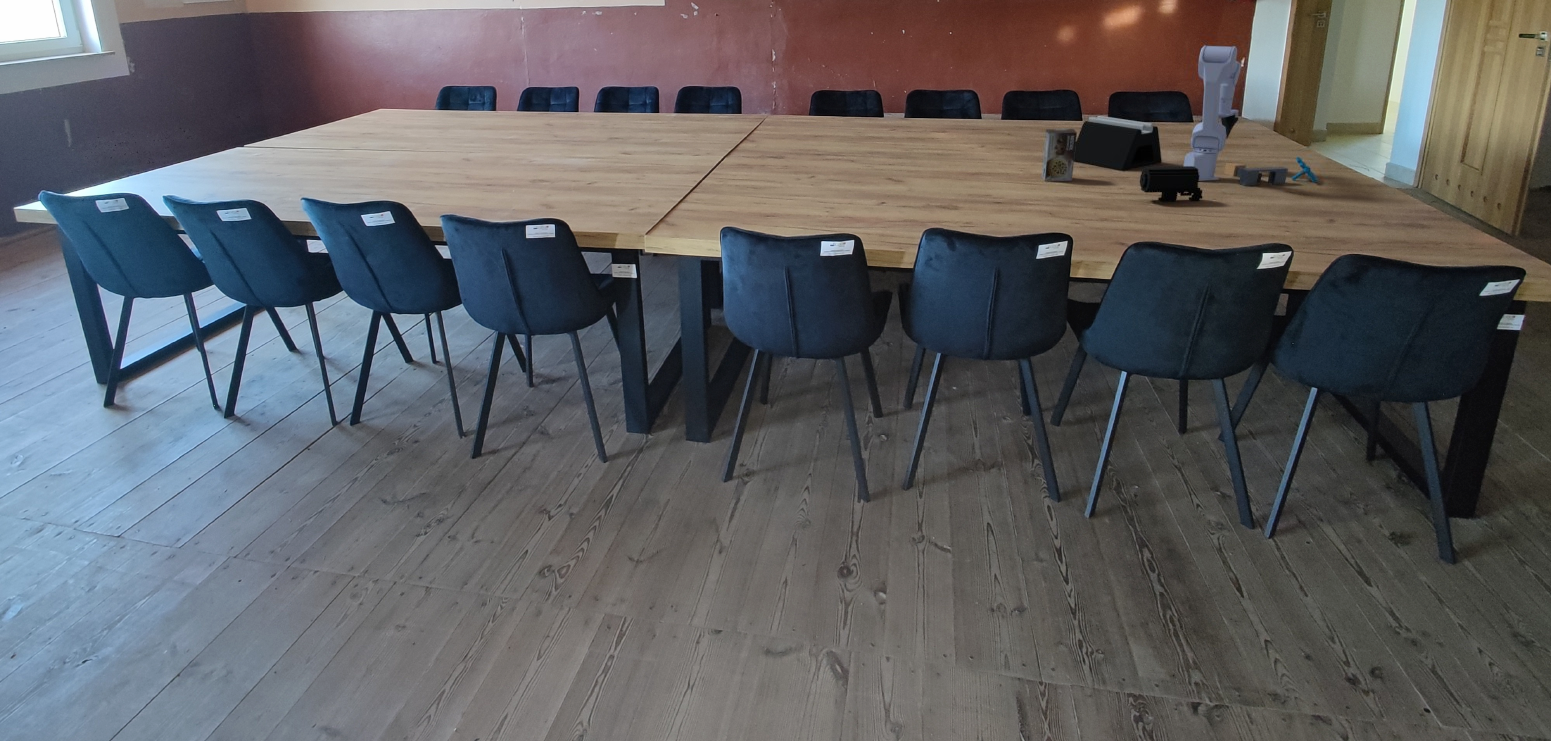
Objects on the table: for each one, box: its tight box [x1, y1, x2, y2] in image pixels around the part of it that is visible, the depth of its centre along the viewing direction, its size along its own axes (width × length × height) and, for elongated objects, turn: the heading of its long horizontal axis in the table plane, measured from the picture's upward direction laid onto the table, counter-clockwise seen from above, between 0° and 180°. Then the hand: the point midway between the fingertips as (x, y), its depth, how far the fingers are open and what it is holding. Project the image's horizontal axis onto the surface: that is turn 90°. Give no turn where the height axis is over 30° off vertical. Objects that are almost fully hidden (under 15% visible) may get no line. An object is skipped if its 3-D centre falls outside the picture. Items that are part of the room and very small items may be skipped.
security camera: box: [1139, 165, 1203, 203], centre depth 275 cm, size 7×18×10 cm, turn 89°
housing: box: [1238, 166, 1289, 187], centre depth 294 cm, size 14×3×5 cm, turn 98°
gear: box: [1291, 156, 1319, 183], centre depth 298 cm, size 11×6×10 cm
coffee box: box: [1041, 128, 1078, 182], centre depth 303 cm, size 9×6×16 cm
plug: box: [1224, 161, 1263, 183], centre depth 303 cm, size 15×4×4 cm, turn 8°
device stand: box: [1074, 115, 1162, 172], centre depth 327 cm, size 22×22×15 cm
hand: (1216, 139), depth 311 cm, fingers open, 7 cm apart
